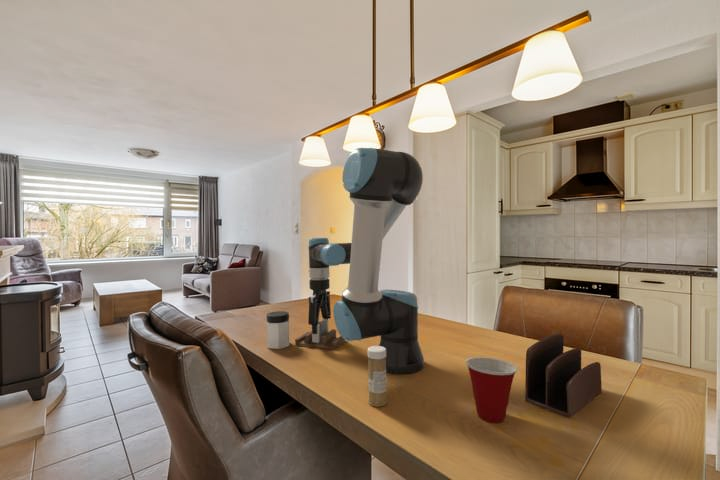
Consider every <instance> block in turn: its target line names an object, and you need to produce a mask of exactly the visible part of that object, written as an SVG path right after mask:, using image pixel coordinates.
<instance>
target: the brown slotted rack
mask: <svg viewBox="0 0 720 480" xmlns="http://www.w3.org/2000/svg"><path fill="white" fill-rule="evenodd" d="M294 341H295V342H294V344H295V346H300V347H308V348H309V347H310V348H318V349H319V348H320V349H326V350H327V349H329V350H336V349H337V348H338V347H340V346H341V345H342V344H343V343H344V342H345V341H346V340H345V339H343V338H342V337H341V335H339V336H338V337H337V329H330V330H329V332H328V333H326V334H325V335H324V336H322V337H321V342H319V343H317V342H312V330H311V331H307V332H305V333H304V334H301V335H300V336H298V337H296V339H294Z"/></svg>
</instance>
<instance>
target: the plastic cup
mask: <svg viewBox="0 0 720 480" xmlns="http://www.w3.org/2000/svg"><path fill="white" fill-rule="evenodd" d="M465 363H466V366H467V368H468V373H469V376H470V381H471V389H472V393H473V399H474V403H475V410H476V412H477V416H478V417H479V418H480V419H481V420H483V421H485V422H488V423H491V424H492V423H493V424H497V423H498V424H499V423H502V422H504V421H505V418H506V416H507V410H508V409H507V408H508V407H509V406H508V405H509V401H510V396H511V395H510V394H511V389H512V384H513V382H514V381H513V379H514V377H515V374H516V373H517V371H518V367H517V366H516V365H515V364H513V363H511V362H509V361H506V360H502V359H498V358H492V357H483V356H482V357H481V356H478V357H471V358H467V359H466V360H465Z"/></svg>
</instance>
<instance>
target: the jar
mask: <svg viewBox="0 0 720 480" xmlns="http://www.w3.org/2000/svg"><path fill="white" fill-rule="evenodd" d="M266 343H267V344H266V345H267V349H271V350H272V349H273V350H281V349H286V348H288V347H290V313H289V312H288V311H284V310H275V311H270V312H268V313H266Z"/></svg>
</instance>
